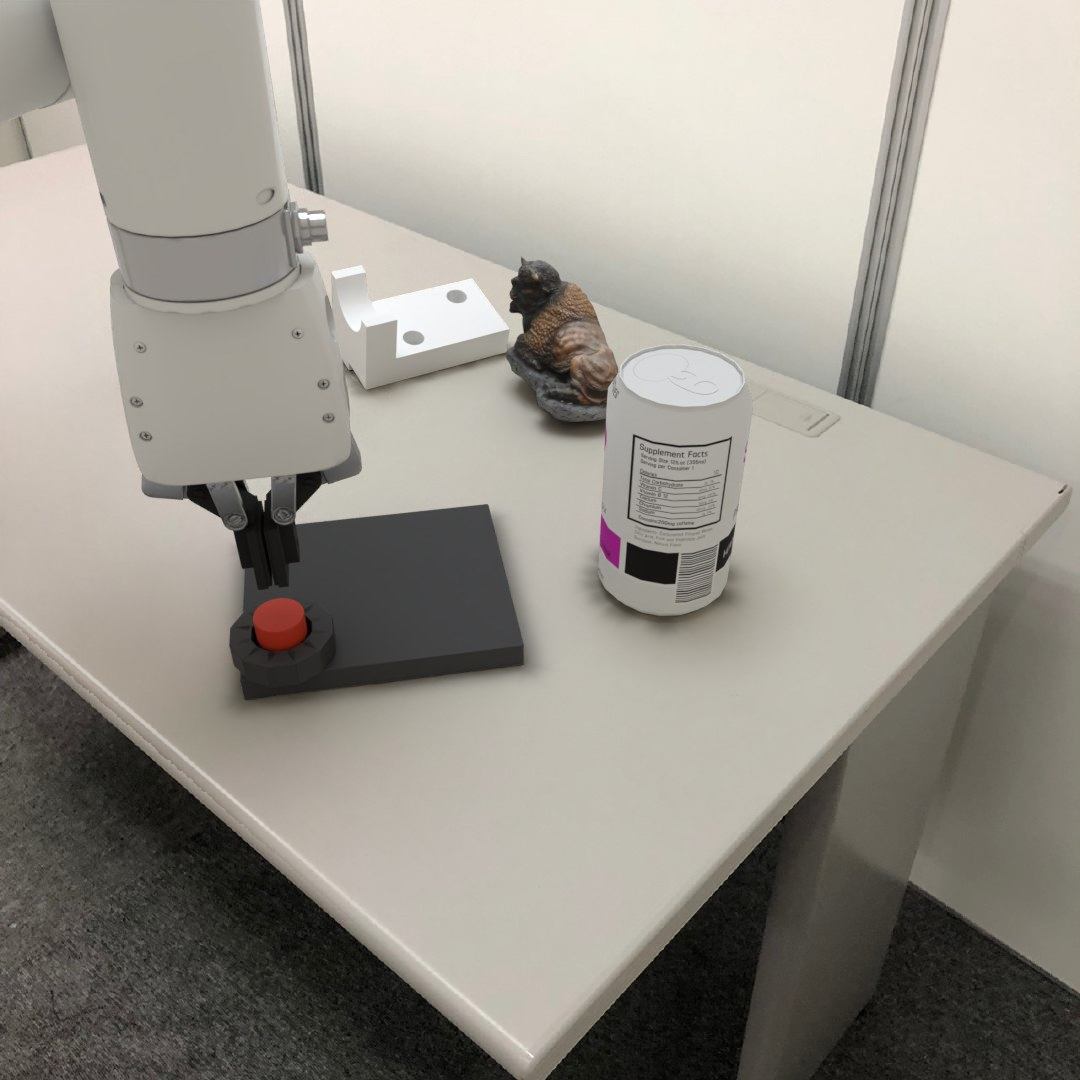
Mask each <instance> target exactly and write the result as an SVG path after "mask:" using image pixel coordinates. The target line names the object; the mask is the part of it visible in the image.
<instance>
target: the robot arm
mask: <svg viewBox="0 0 1080 1080" xmlns="http://www.w3.org/2000/svg"><path fill="white" fill-rule="evenodd" d="M262 15H263V14H262V8H261V2H260V0H0V125H3V124H5V123H8V122H10V121H13V120H14V119H17V118H19V117H22V116H25V115H27V114H29V113H31V112H34V111H37V110H42V109H46V108H50V107H52V106H56V105H58V104H62V103H65V102H68V101H71V100H75V104H76V109H77V111H78V115H79V121H80V122H81V127H82V131H83V135H84V139H85V143H86V146H87V151H88V155H89V158H90V161H91V166H92V170H93V173H94V177H95V181H96V184H97V189H98V192H99V193H98V194H99V197H100V200H101V204H102V208H103V212H104V215H105V218H106V222H107V227H108V231H109V234H110V238H111V241H112V246H113V249H114V254H115V257H116V261H117V266H118V268H117V269H115V270H114V272H113V273H112V274H111V276H110V279H109V305H110V306H109V308H110V309H109V310H110V323H111V324H110V325H111V335H112V336H111V337H112V345H113V351H114V358H115V359H114V360H115V365H116V372H117V377H118V383H119V390H120V395H121V401H122V407H123V412H124V417H125V422H126V426H127V433H128V436H129V440H130V445H131V448H132V453H133V455H134V459H135V462H136V464H137V467H138V469H139V472H140V473H141V486H140V487H141V489H140V490H141V492H142V493H143V495H144V496H145V497H148V498H153V499H163V500H177V501H184V499H186V500H189V501H190V502H191V503H193V504H195V505H196V506H199V507H200V508H202V509H204V510H205V511H207V512H209V513H211V514H213V515H215V516H216V517H218V518H220V520H221V522H222V524H223V526H224V527H225V528H226V529H227V530H229V531H233V535H234V541H235V545H236V549H237V550H236V551H237V554H238V557H239V562H240V566H241V569H242V570H245V569H247V568H253V569H254V574H255V578H256V583H257V587H258V590H264V589H269V586H272V575H273V579H274V584H275V586H276V585H278V586H279V588H281V587H289V563H298V562H300V548H299V540H298V535H297V529H296V524H297V523H296V519H297V512H298V511H299V510H300V509H301V508H302V507H303V506H304V505H305V504H306V503H307V502H308V501H309V499H311V498H312V497H313V495H314V494H315V493H316V492H318V490H319V489H320V488H321V487H322V485H326V484H327V485H331V484H334V483H336V482H340V481H343V480H346V479H349V478H352V477H355V476H357V475H359V474H360V473H361V472H362V469H363V464H362V454H361V451H360V448H359V446H358V444H357V442H356V439H355V437H354V435H353V432H352V431H351V407H350V399H349V398H350V397H349V392H348V385H347V378H346V373H345V367H344V362H343V360H342V356H341V351H340V346H339V341H338V336H337V331H336V326H335V321H334V317H333V313H332V304H331V301H330V297H329V295H328V291H327V288H326V285H325V281H324V279H323V276H322V273H321V270H320V268H319V265H318V263H317V261H316V260H317V259H316V258H315V256H314V255H313V254H312V253H310V252H308V251H306V250H304V247H310V246H313V243H321V242H322V243H323V242H329V231H328V224H327V223H328V222H327V216H326V210H325V209H320V210H318V209H317V210H309V209H308V207H299V206H298V201H291V194H290V189H289V187H288V186H289V185H288V179H287V173H286V168H285V161H284V153H283V146H282V140H281V133H280V128H279V120H278V114H277V107H276V101H275V94H274V87H273V81H272V75H271V67H270V61H269V53H268V48H267V42H266V35H265V27H264V22H263V21H264V20H263V16H262ZM265 478H270V489H269V490H268V492H267V493H266V494H265V499H264V501H263V500H259V498H258V495H255V494H253V493H252V492H250V488H249V485H248V482H247V480H256V479H265Z"/></svg>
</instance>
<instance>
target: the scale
mask: <svg viewBox="0 0 1080 1080" xmlns="http://www.w3.org/2000/svg"><path fill="white" fill-rule="evenodd" d="M295 524H296V529H297V535H298V540H299V548H300V562H298V563H289V587H281V588H279V586H278V585H276V586H275V584H274V579H273V575H272V586H269V589H264V590H258V587H257V583H256V578H255V574H254V569H253V568H247V569H244V576H243V577H244V578H243V580H244V582H243V604H242V613H241V614H240V615H239V617H238V618H237V619H236V620H235V621H234V622H233V624H232V625H231V626H230V628H229V644H228V648H229V651H230V655H231V660H232V664H233V666H234V667H235V668H236V670H237V671H238V672H239V683H240V688H241V691H242V696H243V699H244V700H245V701H250V700H257V699H258V700H259V699H265V698H272V697H281V696H288V695H295V694H302V693H312V692H318V691H327V690H335V689H342V688H350V687H351V688H352V687H357V686H366V685H373V684H382V683H389V682H395V681H404V680H405V681H406V680H412V679H419V678H420V679H421V678H429V677H437V676H442V675H453V674H458V673H466V672H467V673H468V672H474V671H481V670H489V669H498V668H505V667H513V666H521V665H524V663H525V651H524V650H525V645H524V640H523V637H522V633H521V629H520V625H519V621H518V617H517V613H516V609H515V604H514V601H513V597H512V593H511V588H510V586H509V585H510V584H509V581H508V577H507V573H506V569H505V566H504V565H505V564H504V561H503V557H502V553H501V549H500V545H499V541H498V537H497V533H496V530H495V526H494V521H493V517H492V514H491V510H490V506H489V504H488V503H484V504H474V505H465V506H455V507H445V508H437V509H436V508H435V509H428V510H427V509H426V510H419V511H417V510H416V511H409V512H398V513H389V514H379V515H371V516H370V515H369V516H362V517H361V516H360V517H352V518H343V519H334V520H333V519H332V520H325V521H324V520H323V521H314V522H313V521H312V522H304V523H295ZM279 598H287V599H292V600H295V601H297V602H298V603H299V604H301V606H302V607H303V609H304V614H305V620H306V625H307V635H306V638H305V639H304V641H303V642H302V643H301V644H299V645H298V646H296V647H294V648H292V649H290V650H282V651H270V650H267V649H265V648H263V647H262V646H261V645H260V644H259V643H258V641H257V637H256V632H255V627H254V623H253V615H254V613H255V611H256V609H257V608H258V607H259V606H261V605H262V604H263V603H265V602H267V601H270V600H273V599H279Z"/></svg>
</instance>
